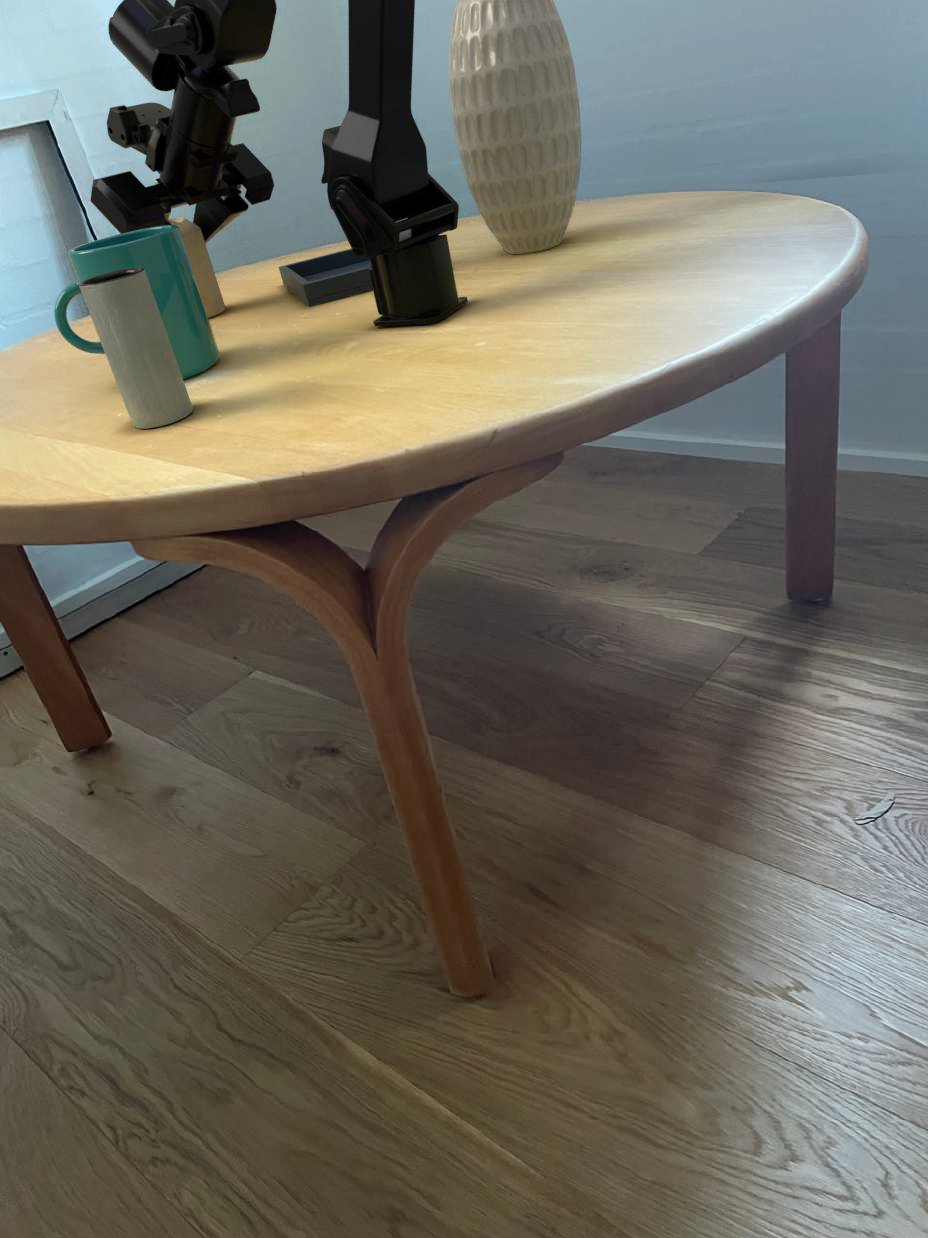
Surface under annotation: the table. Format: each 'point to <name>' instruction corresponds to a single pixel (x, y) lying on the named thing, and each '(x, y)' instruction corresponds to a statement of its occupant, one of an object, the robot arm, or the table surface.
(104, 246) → the cup
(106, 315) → the planter
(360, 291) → the tray
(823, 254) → the table surface
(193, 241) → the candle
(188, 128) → the robot arm
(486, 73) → the vase
